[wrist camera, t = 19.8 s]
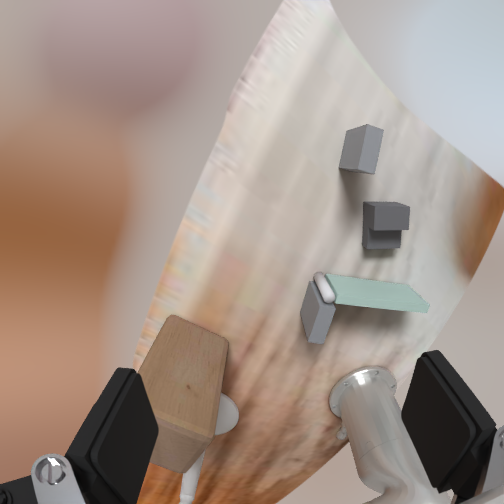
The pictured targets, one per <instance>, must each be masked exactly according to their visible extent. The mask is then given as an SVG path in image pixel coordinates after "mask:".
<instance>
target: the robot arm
mask: <svg viewBox="0 0 504 504" xmlns="http://www.w3.org/2000/svg"><path fill="white" fill-rule="evenodd" d="M396 386H397V383H396V379H395V377H394V376H393V374H392V373H391V372H390V371H389V370H387V369H385V368H383V367H377V366H372V367H365V368H361V369H358V370H355V371H353V372H351V373H349V374H348V375H346V376H345V377H343V378H342V379H341V380H340V381H338V383H337V384H336V385H335V386H334V387H333V389H332V391H331V393H330V396H329V404H330V408H331V410H332V412H333V413H334V414H335V415H336V416H338V417H340V418H341V419H342V423H341V426H342V427H341V428H340V429H339V431H338V433H337V434H336V437H337V438H338V439H340V440H343V439H345V438H346V436H347V435H348V438H349V442H350V445H351V449H352V453H353V456H354V460H355V463H356V467H357V471H358V475H359V478H360V479H361V481H362V482H363V483H364V484H365V485H366V486H367V487H369V488H371V489H373V490H374V491H377V492H379V493H381V494H383V495H381V496H379V497H377V498H375V499H373V500H371V501H369V502H366V503H364V504H504V426H502V427H500V428H499V429H498V430H497V429H496V427H495V426H496V423H495V422H494V421H493V419H492V418H491V417H490V415H489V414H488V412H487V411H486V409H485V408H484V407H483V406H482V404H481V403H480V401H479V400H478V399H477V398H476V396H475V395H474V393H473V392H472V391H471V390H470V388H469V387H468V386H467V384H466V383H465V382H464V381H463V379H462V378H461V377H460V375H459V374H458V373H457V372H456V371H455V369H454V368H453V367H452V365H450V363H449V362H448V361H447V359H446V358H445V357H444V356H443V354H442V353H441V352H440V351H439V350H434V351H429V352H424V353H423V354H422V355H421V357H420V358H418V359H417V362H416V366H415V369H414V373H413V377H412V380H411V383H410V387H409V390H408V393H407V396H406V400H405V402H404V405H403V408H402V411H401V409H400V407H399V405H398V403H397V401H396V399H395V397H394V394H395V392H396ZM158 433H159V427H158V424H157V421H156V418H155V415H154V413H153V410H152V407H151V404H150V401H149V398H148V396H147V393H146V390H145V387H144V383H143V380H142V377H141V375H140V374H139V373H136V371H135V369H129V368H117V369H116V371H115V372H114V374H113V376H112V377H111V379H110V380H109V382H108V384H107V385H106V387H105V389H104V390H103V392H102V394H101V395H100V397H99V399H98V400H97V402H96V403H95V404H94V406H93V407H92V409H91V411H90V412H89V414H88V416H87V418H86V419H85V421H84V422H83V424H82V426H81V428H80V429H79V431H78V433H77V435H76V436H75V438H74V440H73V442H72V443H71V445H70V447H69V449H68V451H67V452H66V454H65V456H61V455H59V454H46V455H44V456H41V457H40V458H38V459H37V460H36V461H35V463H34V464H33V466H32V469H31V475H30V476H27V477H24V478H20V479H17V480H13V481H10V482H7V483H3V484H0V504H136V503H137V500H138V497H139V493H140V490H141V487H142V484H143V481H144V477H145V474H146V471H147V468H148V465H149V462H150V459H151V455H152V452H153V449H154V446H155V443H156V440H157V437H158ZM450 489H452V490H453V492H454V496H453V499H452V501H451V500H450V497H449V496H448V494H447V492H446V491H448V490H450Z"/></svg>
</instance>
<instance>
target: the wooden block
mask: <svg viewBox="0 0 504 504" xmlns="http://www.w3.org/2000/svg"><path fill="white" fill-rule="evenodd" d="M227 351H228V341H227V340H226V339H225V338H223V337H221V336H219V335H217V334H214V333H212V332H210V331H208V330H206V329H203V328H201V327H199V326H197V325H195V324H193V323H191V322H188V321H186V320H184V319H182V318H180V317H178V316H176V315H170V316H169V317H168V318H167V319H166V321H165V323H164V324H163V326H162V328H161V330H160V332H159V334H158V335H157V337H156V339H155V341H154V343H153V345H152V347H151V348H150V350H149V352H148V354H147V356H146V358H145V360H144V362H143V363H142V365H141V367H140V369H139V371H138V373H139V374H140V375H141V377H142V380H143V383H144V387H145V390H146V393H147V396H148V398H149V401H150V404H151V407H152V410H153V413H154V415H155V418H156V421H157V424H158V427H159V433H158V437H157V440H156V443H155V446H154V449H153V452H152V455H151V459H150V462H151V463H153V464H156V465H158V466H161V467H164V468H166V469H169V470H172V471H174V472H177V473H186V472H187V471H188V470H189V469H190V468H191V467H192V465H193V464H194V463H195V462H196V460H197V459H198V458H199V457H200V456H201V454H202V453H203V452H204V451H205V449H206V448H207V447H208V446H209V444H210V443H211V442H212V441H213V439H214V436H215V430H216V423H217V416H218V410H219V403H220V397H221V390H222V383H223V377H224V370H225V364H226V358H227Z"/></svg>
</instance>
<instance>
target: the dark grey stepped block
mask: <svg viewBox="0 0 504 504" xmlns="http://www.w3.org/2000/svg"><path fill="white" fill-rule="evenodd" d="M409 215H410V207H409V206H406V205H403V204H400V203H397V202H364V205H363V237H362V245H363V246H364V247H365V248H366V249H390V248H400V245H401V231H402V230H409Z"/></svg>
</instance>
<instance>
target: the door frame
mask: <svg viewBox="0 0 504 504" xmlns="http://www.w3.org/2000/svg"><path fill="white" fill-rule="evenodd" d="M383 131H384V130H383V129H380V128H377V127H374V126H371V125H368V124H366V125H363V126H360V127H357V128H354V129H351V130H348V131H347V132H346V137H345V141H344V146H343V151H342V155H341V160H340V164H339V168H341V169H345V170H349V171H352V172H360V173H368V174H375V170H376V165H377V161H378V156H379V151H380V146H381V141H382V136H383ZM335 310H336V308H335V306H334V304H333V302H332V303H326V302H325V301H324V299H323V297H322V295H321V293H320V290H319V288H318V286H317V284H316V282H313V281H309V284H308V288H307V291H306V295H305V298H304V301H303V305H302V308H301V311H300V314H301V317H302V321H303V325H304V329H305V333H306V337H307V340H308V342H311V343H318V344H323V343H324V341H325V338H326V335H327V333H328V330H329V327H330V324H331V322H332V319H333V316H334V313H335Z"/></svg>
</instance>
